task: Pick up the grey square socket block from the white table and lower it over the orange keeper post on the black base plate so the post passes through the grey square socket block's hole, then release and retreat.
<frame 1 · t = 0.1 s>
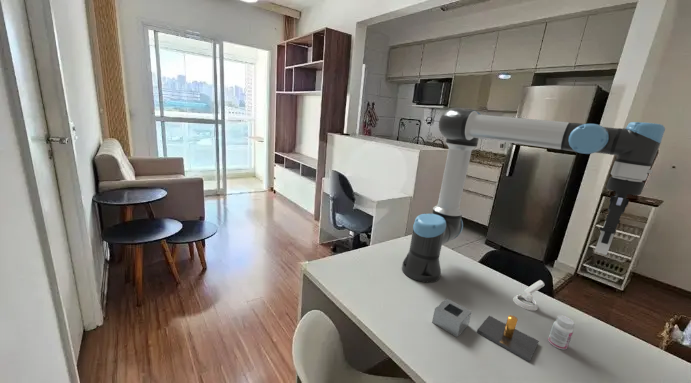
hand: (602, 247, 89), 28 cm above the table, fingers open, 13 cm apart
vr controller: (525, 304, 105), on the table
grey square socket block: (450, 323, 90), on the table
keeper: (506, 338, 87), on the table
pill bottle: (557, 344, 87), on the table
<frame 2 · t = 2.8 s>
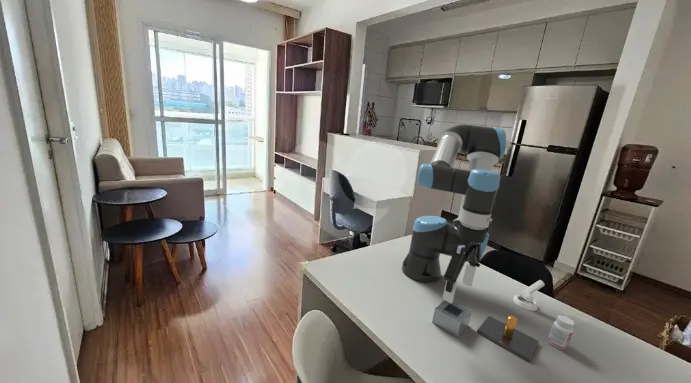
hand: (457, 292, 87), 11 cm above the table, fingers open, 13 cm apart
nothing on the table moved.
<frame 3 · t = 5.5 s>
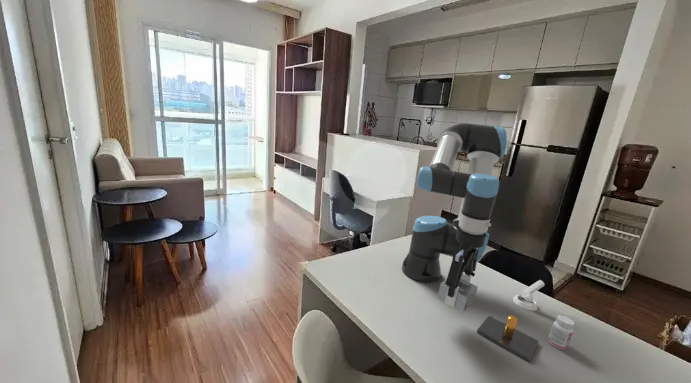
hand: (455, 298, 88), 9 cm above the table, fingers closed on grey square socket block, 8 cm apart
grey square socket block: (455, 299, 88), point 8 cm above the table, touching gripper
everything else where it was.
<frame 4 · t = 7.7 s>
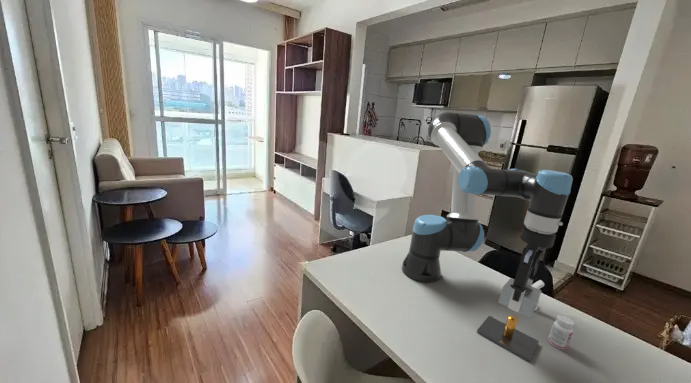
hand: (517, 303, 83), 12 cm above the table, fingers closed on grey square socket block, 8 cm apart
grey square socket block: (517, 304, 83), point 12 cm above the table, touching gripper
everything else where it was.
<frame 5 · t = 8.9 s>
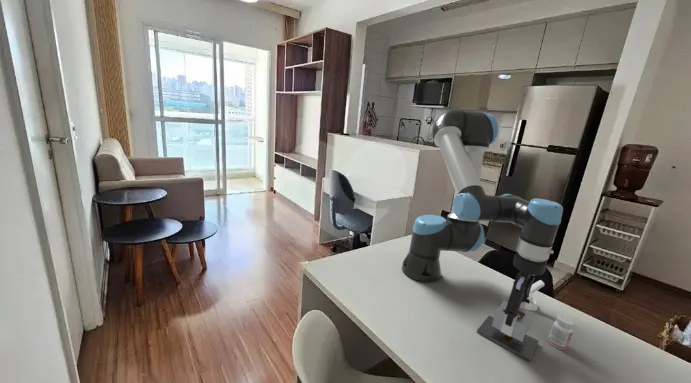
hand: (510, 326, 85), 4 cm above the table, fingers closed on grey square socket block, 8 cm apart
grey square socket block: (510, 327, 85), point 4 cm above the table, touching gripper
everything else where it was.
when the fingers open (3 cm above the table, at t = 10.0 s): grey square socket block drops 2 cm, resting on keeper.
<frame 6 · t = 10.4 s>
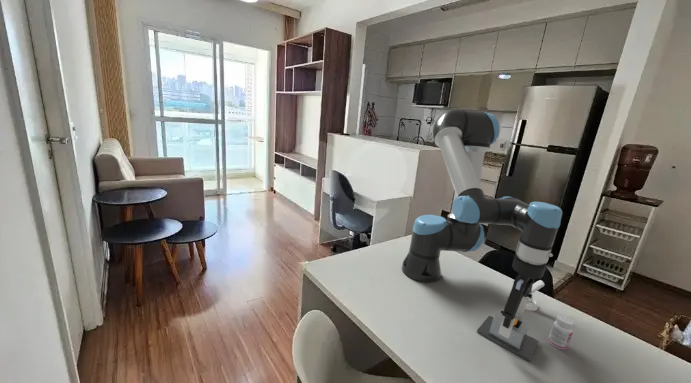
hand: (510, 324, 85), 5 cm above the table, fingers open, 13 cm apart
grey square socket block: (507, 335, 86), point 1 cm above the table, touching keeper
everything else where it was.
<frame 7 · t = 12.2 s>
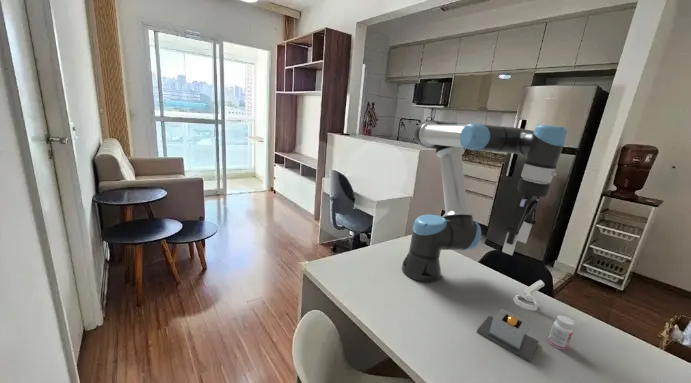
hand: (514, 247, 90), 25 cm above the table, fingers open, 13 cm apart
nothing on the table moved.
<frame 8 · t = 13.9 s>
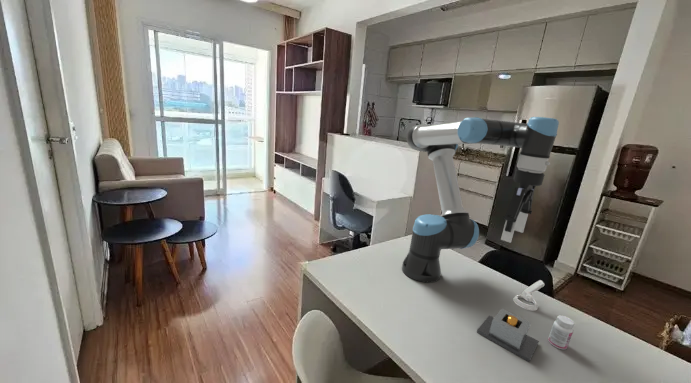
hand: (512, 235, 93), 27 cm above the table, fingers open, 13 cm apart
nothing on the table moved.
at the end: grey square socket block 0.1 cm off-centre on the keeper, point 1.0 cm above the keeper's base; the gripper is holding nothing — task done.
